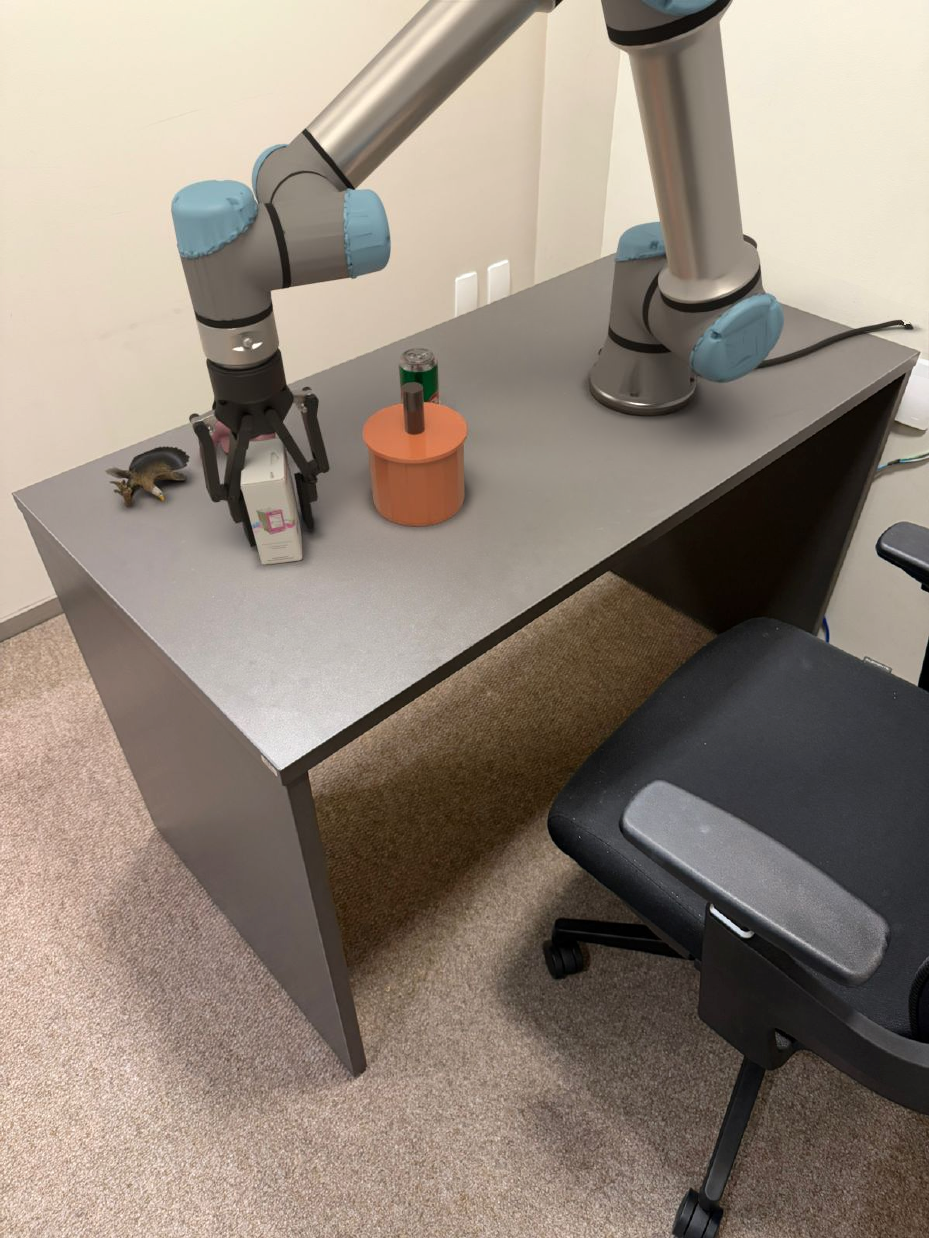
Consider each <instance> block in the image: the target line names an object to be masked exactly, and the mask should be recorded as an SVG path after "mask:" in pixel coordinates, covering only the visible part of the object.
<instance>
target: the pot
mask: <svg viewBox="0 0 929 1238" xmlns="http://www.w3.org/2000/svg"><path fill="white" fill-rule="evenodd" d="M464 444H465V443H464ZM464 444H463V445H462V446H461V447H460V448H459V449H458V450H457V451H455V452H454V453H452V454H451V455H449V456H447V457H444V458H442V459H439V460H435V461H431V462H425V463H399V462H394V461H389V460H386V459H383V458H381V457H379V456H377V455H375V454H374V453H372V452H371V451H370V450H369V449H368V448H367V454H368V462H369V463H368V464H369V471H370V472H369V474H370V482H371V490H372V501H373V503H374V507H375V509H376V511H377V512H378V513H379V514H380V515H381V516H382V517H383V518H384V519H386V520H388V521H390V522H391V523H395V524H398V525H402V526H407V527H426V526H431V525H436V524H440V523H442V522H445V521H447V520H449V519H450V518H452V517H453V516H455V515H456V514H457V513H458V512H459V511H460V509H461V508H462V506H463V504H464V501H465V452H464V451H465V445H464Z"/></svg>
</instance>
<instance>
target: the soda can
mask: <svg viewBox="0 0 929 1238" xmlns="http://www.w3.org/2000/svg"><path fill="white" fill-rule="evenodd" d="M398 373H399V386H400V387H399V388H400V401H401V403H403V397H402V386H403V385H404V384H407V383H411V382H415V383H419V384H421V385H422V386H423V398H424V402H428V403H435V404H439V405H440V387H439V386H440V385H439V362H438V359H437V358H436V356H435V352H434V351H433V350H431V349H430V348H425V347H412V348H409V349H406V350H405V351H403V352H402V353H401V355H400V360H399V362H398ZM401 403H400V404H401Z"/></svg>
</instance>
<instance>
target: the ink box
mask: <svg viewBox="0 0 929 1238" xmlns="http://www.w3.org/2000/svg"><path fill="white" fill-rule="evenodd" d="M294 485H295V484H294V481H293V476H292V472H291V466H290V462H289V458H288V451H287V449H286V448H285V446H284V444H283V443H282V441H281V440H280V438H279V437H276V438H271V439H263V440H256V441H249V447H248V450H246V457H245V463H244V470H242V471H241V490H242V492H243V496H244V499H245V503H246V507H247V510H248V514H249V518H250V522H251V525H252V529H253V533H254V537H255V540H256V544H257V546H256V547H257V552H258V554H259V559H260V563H261V565H262V566H265V565H273V564H283V563H289V562H290V563H291V562H299V561H301V560H303V541H302V539H303V538H302V521H301V519H302V516H301V512H300V508H299V505H298V504H299V503H298V499H297V494H296V490H295V486H294Z"/></svg>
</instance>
